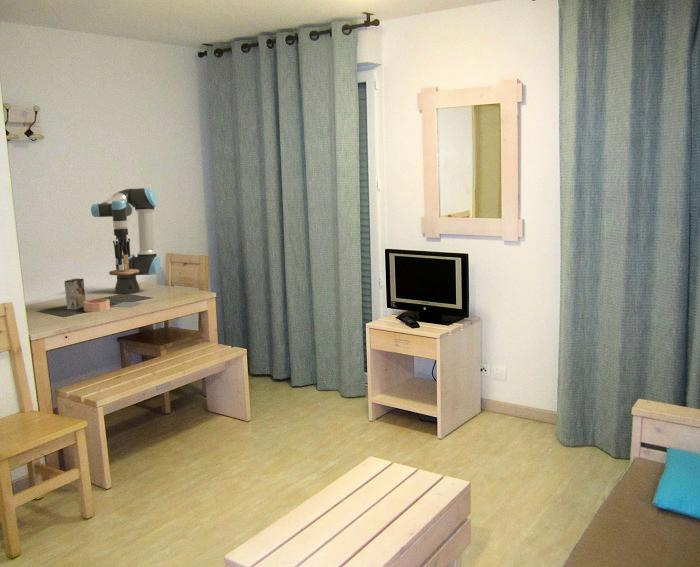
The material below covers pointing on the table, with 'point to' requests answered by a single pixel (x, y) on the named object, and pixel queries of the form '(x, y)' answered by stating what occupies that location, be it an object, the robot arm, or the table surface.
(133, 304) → the mat
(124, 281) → the robot arm
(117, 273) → the lid
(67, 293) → the coffee box
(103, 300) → the bowl
